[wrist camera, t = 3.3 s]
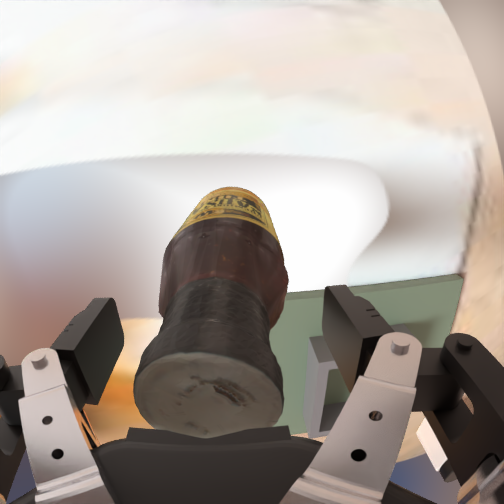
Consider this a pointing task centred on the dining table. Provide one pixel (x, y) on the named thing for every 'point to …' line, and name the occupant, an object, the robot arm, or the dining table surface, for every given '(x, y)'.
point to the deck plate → (320, 358)
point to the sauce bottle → (217, 323)
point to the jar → (435, 451)
